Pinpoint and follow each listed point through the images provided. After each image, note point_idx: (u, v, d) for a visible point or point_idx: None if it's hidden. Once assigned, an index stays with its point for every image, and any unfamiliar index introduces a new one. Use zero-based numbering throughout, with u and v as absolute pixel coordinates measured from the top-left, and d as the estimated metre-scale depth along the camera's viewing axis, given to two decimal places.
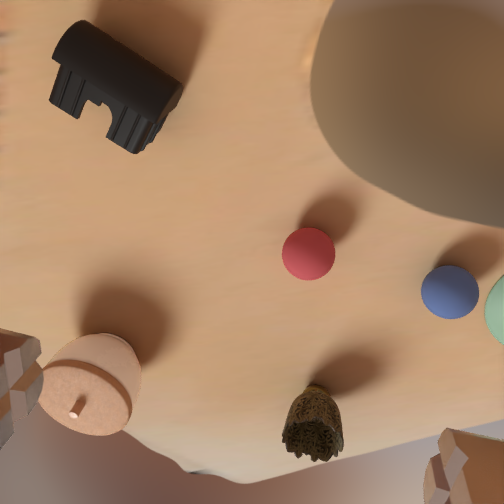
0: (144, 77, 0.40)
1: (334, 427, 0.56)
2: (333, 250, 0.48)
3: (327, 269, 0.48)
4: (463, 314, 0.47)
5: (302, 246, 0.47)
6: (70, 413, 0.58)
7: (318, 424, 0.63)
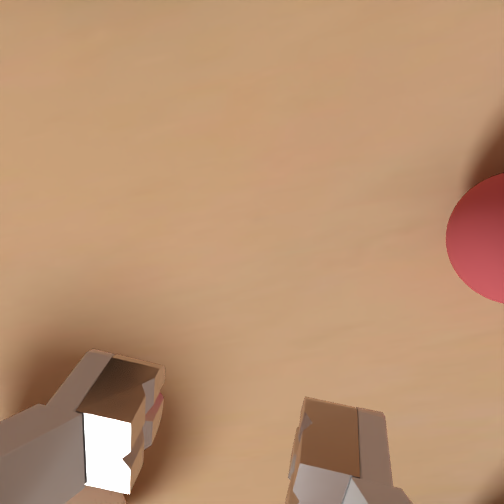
0: None
1: None
2: None
3: None
4: None
5: None
6: None
7: None
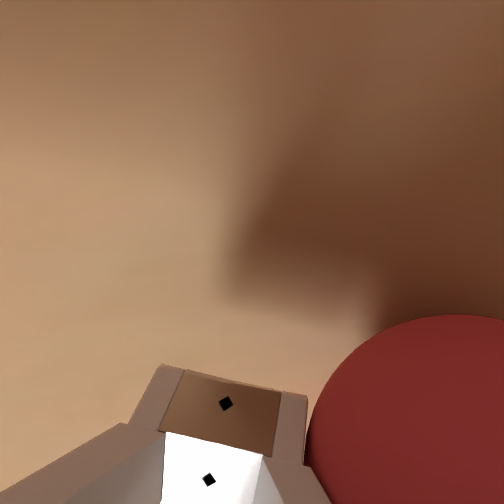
0: None
1: None
2: None
3: None
4: None
5: None
6: None
7: None
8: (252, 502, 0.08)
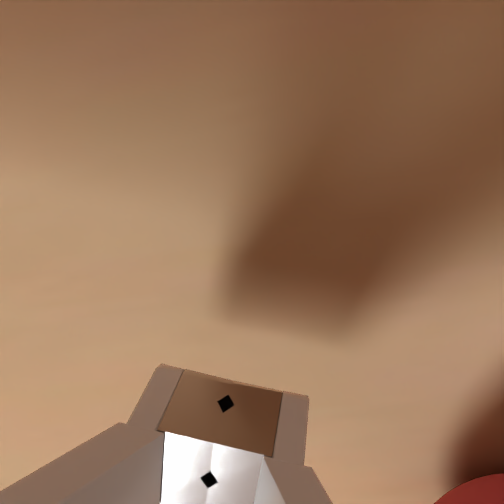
0: None
1: None
2: None
3: None
4: None
5: None
6: None
7: None
8: (253, 502, 0.08)
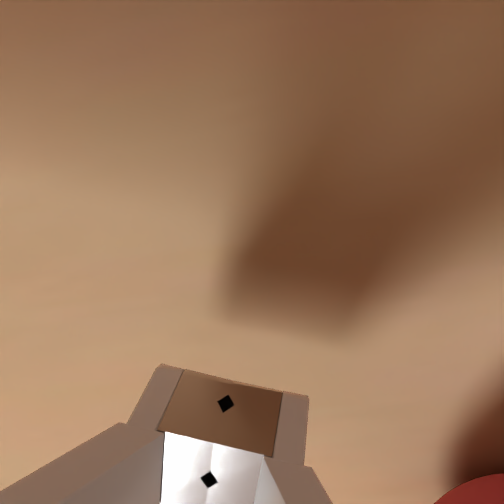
0: None
1: None
2: None
3: None
4: None
5: None
6: None
7: None
8: (253, 502, 0.08)
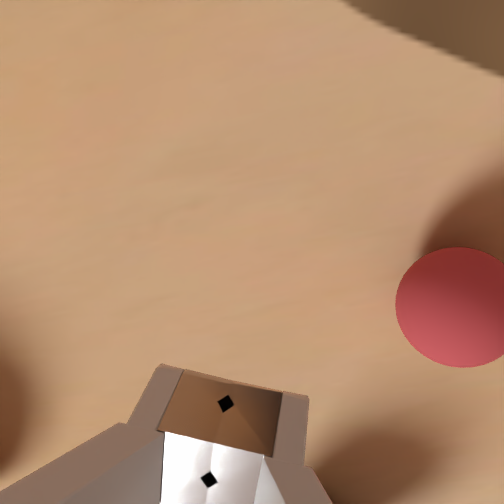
0: None
1: None
2: (430, 273, 0.21)
3: (416, 262, 0.23)
4: None
5: (502, 263, 0.21)
6: None
7: None
8: (253, 503, 0.08)
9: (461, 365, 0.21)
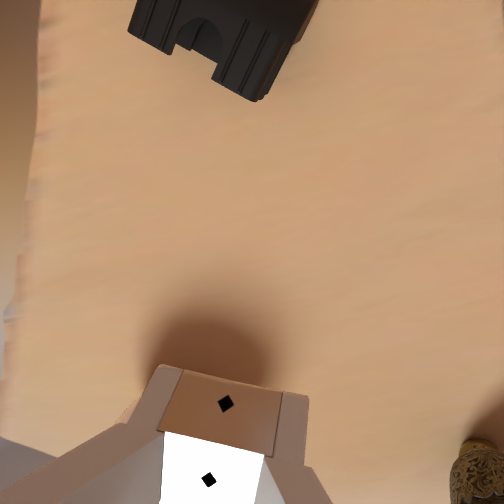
0: None
1: None
2: None
3: None
4: None
5: None
6: None
7: (488, 496, 0.45)
8: (253, 502, 0.08)
9: None
